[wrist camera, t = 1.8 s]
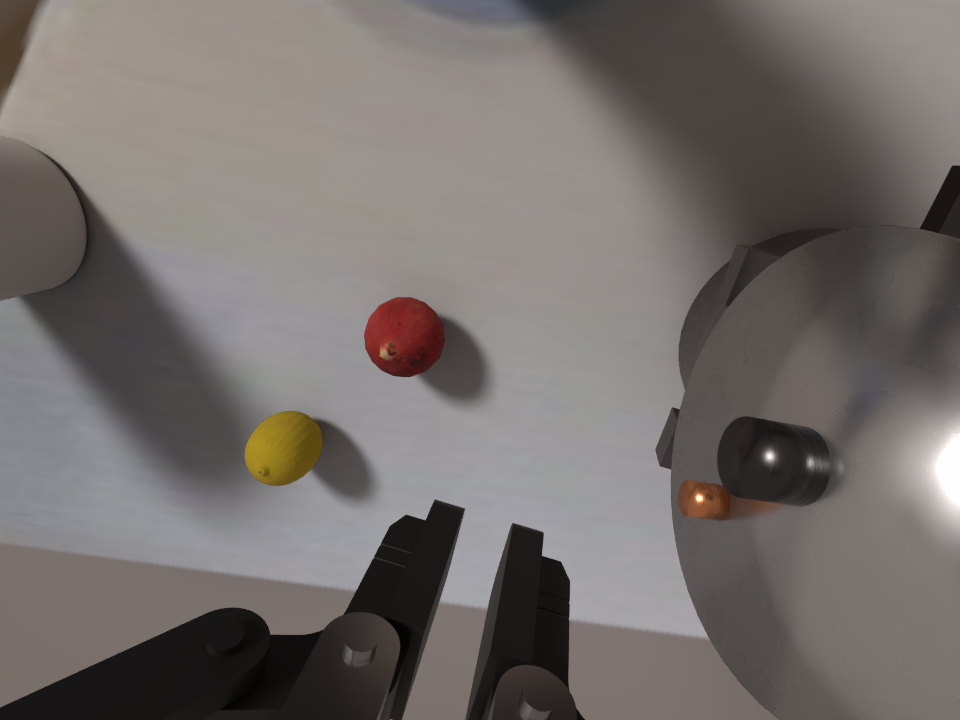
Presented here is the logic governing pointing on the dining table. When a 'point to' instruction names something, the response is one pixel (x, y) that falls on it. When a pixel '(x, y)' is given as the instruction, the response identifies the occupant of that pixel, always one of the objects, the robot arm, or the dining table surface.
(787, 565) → the cooker lid
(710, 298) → the cooker pot
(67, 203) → the cylinder vase
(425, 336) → the pomegranate
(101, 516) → the dining table surface
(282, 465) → the lemon
